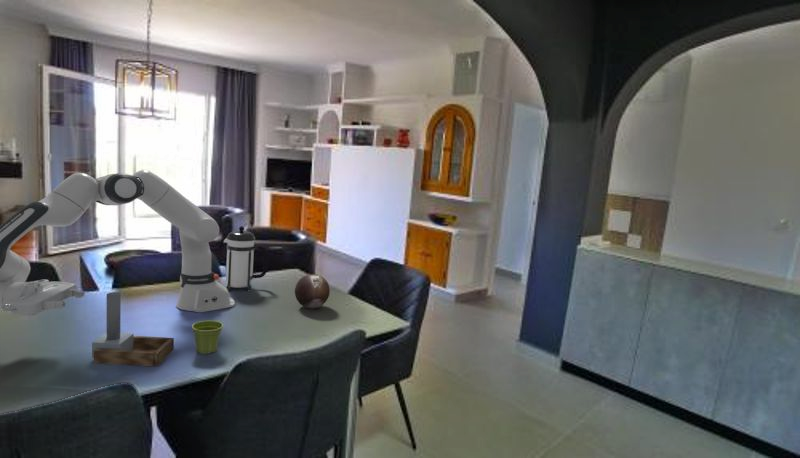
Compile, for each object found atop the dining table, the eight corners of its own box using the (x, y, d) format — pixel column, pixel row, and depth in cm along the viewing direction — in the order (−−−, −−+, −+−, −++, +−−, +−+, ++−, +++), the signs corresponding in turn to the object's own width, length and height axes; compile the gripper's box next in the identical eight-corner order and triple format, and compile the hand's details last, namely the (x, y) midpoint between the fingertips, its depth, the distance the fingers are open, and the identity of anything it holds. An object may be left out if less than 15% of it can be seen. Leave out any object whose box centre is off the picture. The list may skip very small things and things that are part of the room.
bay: (173, 349, 148) (173, 338, 147) (157, 366, 136) (157, 353, 136) (115, 346, 146) (115, 334, 146) (93, 363, 135) (93, 350, 134)
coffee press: (237, 294, 209) (240, 230, 205) (215, 287, 217) (218, 225, 213) (267, 287, 224) (270, 227, 220) (245, 280, 232) (248, 222, 228)
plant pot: (197, 343, 154) (197, 319, 153) (225, 345, 155) (226, 321, 154) (186, 355, 145) (187, 329, 144) (217, 357, 146) (218, 331, 144)
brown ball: (304, 315, 191) (307, 280, 189) (287, 304, 202) (289, 271, 200) (334, 310, 201) (337, 277, 199) (317, 300, 212) (319, 269, 210)
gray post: (133, 348, 145) (134, 291, 142) (120, 359, 137) (120, 298, 134) (106, 347, 144) (107, 289, 141) (92, 358, 136) (91, 297, 134)
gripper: (-4, 298, 125) (49, 300, 127) (46, 277, 146) (92, 279, 147) (-3, 320, 127) (51, 322, 128) (47, 296, 147) (93, 298, 148)
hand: (73, 299), depth 137 cm, fingers open, 8 cm apart
